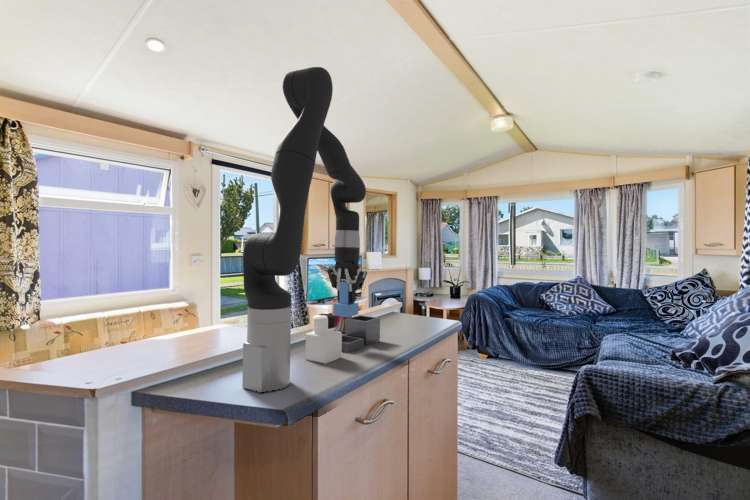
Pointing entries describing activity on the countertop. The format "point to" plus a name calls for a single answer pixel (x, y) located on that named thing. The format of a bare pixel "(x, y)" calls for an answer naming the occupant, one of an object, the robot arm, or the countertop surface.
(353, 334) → the grey square tube
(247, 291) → the robot arm
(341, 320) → the soda can
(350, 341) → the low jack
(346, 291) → the plug
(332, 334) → the medicine bottle
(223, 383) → the countertop surface
